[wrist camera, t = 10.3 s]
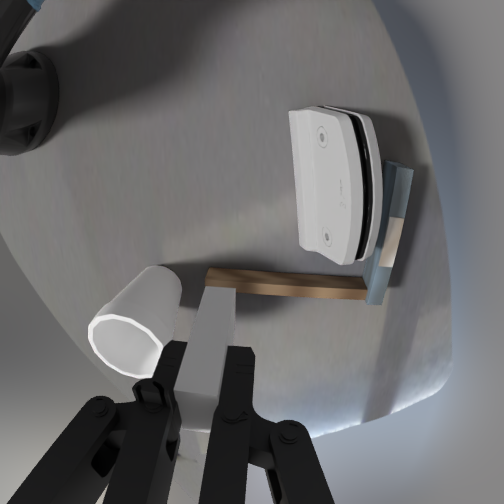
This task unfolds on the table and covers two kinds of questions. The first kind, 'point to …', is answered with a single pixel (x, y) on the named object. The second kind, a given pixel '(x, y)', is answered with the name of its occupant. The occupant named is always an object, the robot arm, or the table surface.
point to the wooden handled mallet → (337, 287)
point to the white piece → (336, 182)
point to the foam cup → (137, 323)
